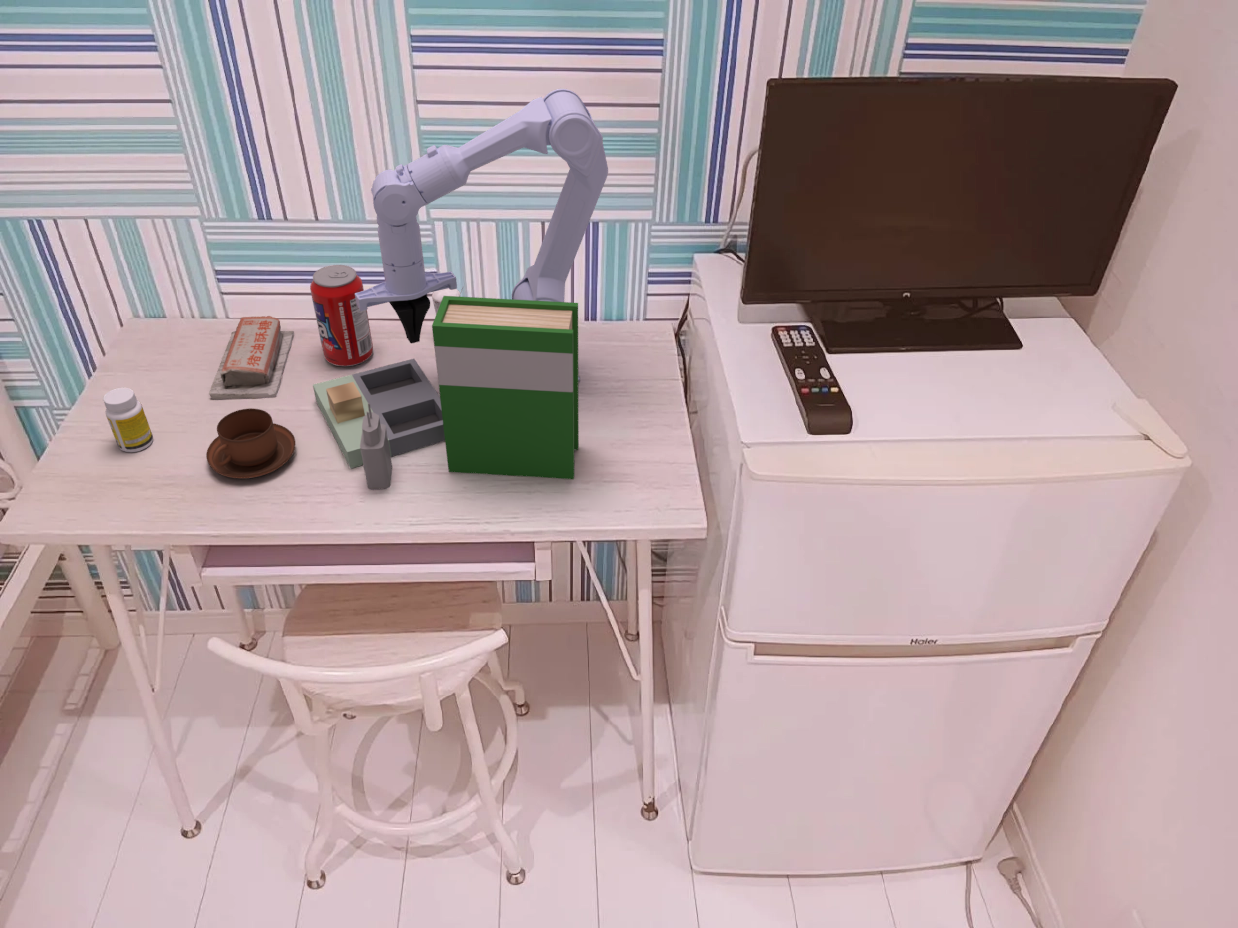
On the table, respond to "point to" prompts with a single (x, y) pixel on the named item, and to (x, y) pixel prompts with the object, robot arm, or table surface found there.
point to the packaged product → (253, 360)
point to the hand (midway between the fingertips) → (413, 339)
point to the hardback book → (508, 385)
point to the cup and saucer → (249, 445)
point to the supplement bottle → (127, 420)
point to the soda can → (341, 316)
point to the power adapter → (375, 452)
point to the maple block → (345, 402)
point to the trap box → (388, 409)
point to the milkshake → (438, 296)
